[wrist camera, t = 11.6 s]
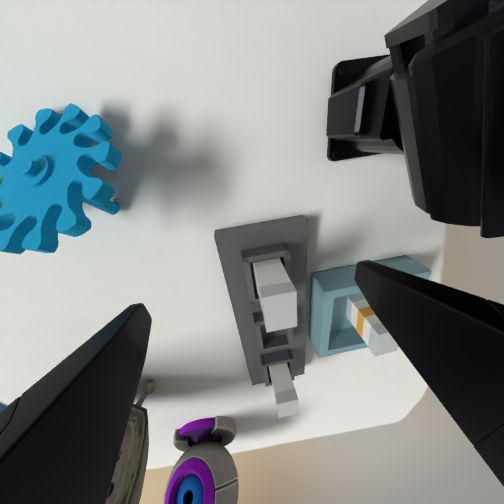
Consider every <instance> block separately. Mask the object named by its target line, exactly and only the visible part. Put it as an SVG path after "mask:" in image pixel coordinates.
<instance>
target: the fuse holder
mask: <svg viewBox="0 0 504 504" xmlns="http://www.w3.org/2000/svg"><path fill="white" fill-rule="evenodd" d="M214 238H215V241H216V245H217V249H218V253H219V257H220V261H221V265H222V269H223V272H224V276H225V280H226V284H227V288H228V292H229V296H230V300H231V304H232V307H233V311H234V315H235V319H236V323H237V327H238V331H239V335H240V338H241V342H242V346H243V350H244V354H245V358H246V362H247V366H248V369H249V373H250V377H251V381H252V385H256V384H260V383H265V384H266V386H269V385H272V381H271V377H270V372H269V366H272V365H277V364H281V363H286V362H287V365H288V368H289V372H290V375H291V379H292V380H294V376H297V375H301V374H304V364H305V310H306V256H307V220H306V219H305V218H304V217H303V216H302V215H300V216H294V217H289V218H283V219H277V220H271V221H266V222H260V223H254V224H249V225H243V226H237V227H231V228H226V229H220V230H215V234H214ZM278 257H280V261H281V263H282V265H283V267H284V269H285V271H286V273H287V275H288V277H289V279H290V281H292V283H293V285H294V287H295V289H296V291H297V327H292V328H287V329H282V330H277V331H272V332H266V327H265V323H264V317H263V312H262V308H261V304H260V299H259V295H258V293H257V289H256V283H255V277H254V270H253V264H252V262H256V261H261V260H267V259H272V258H278Z"/></svg>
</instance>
